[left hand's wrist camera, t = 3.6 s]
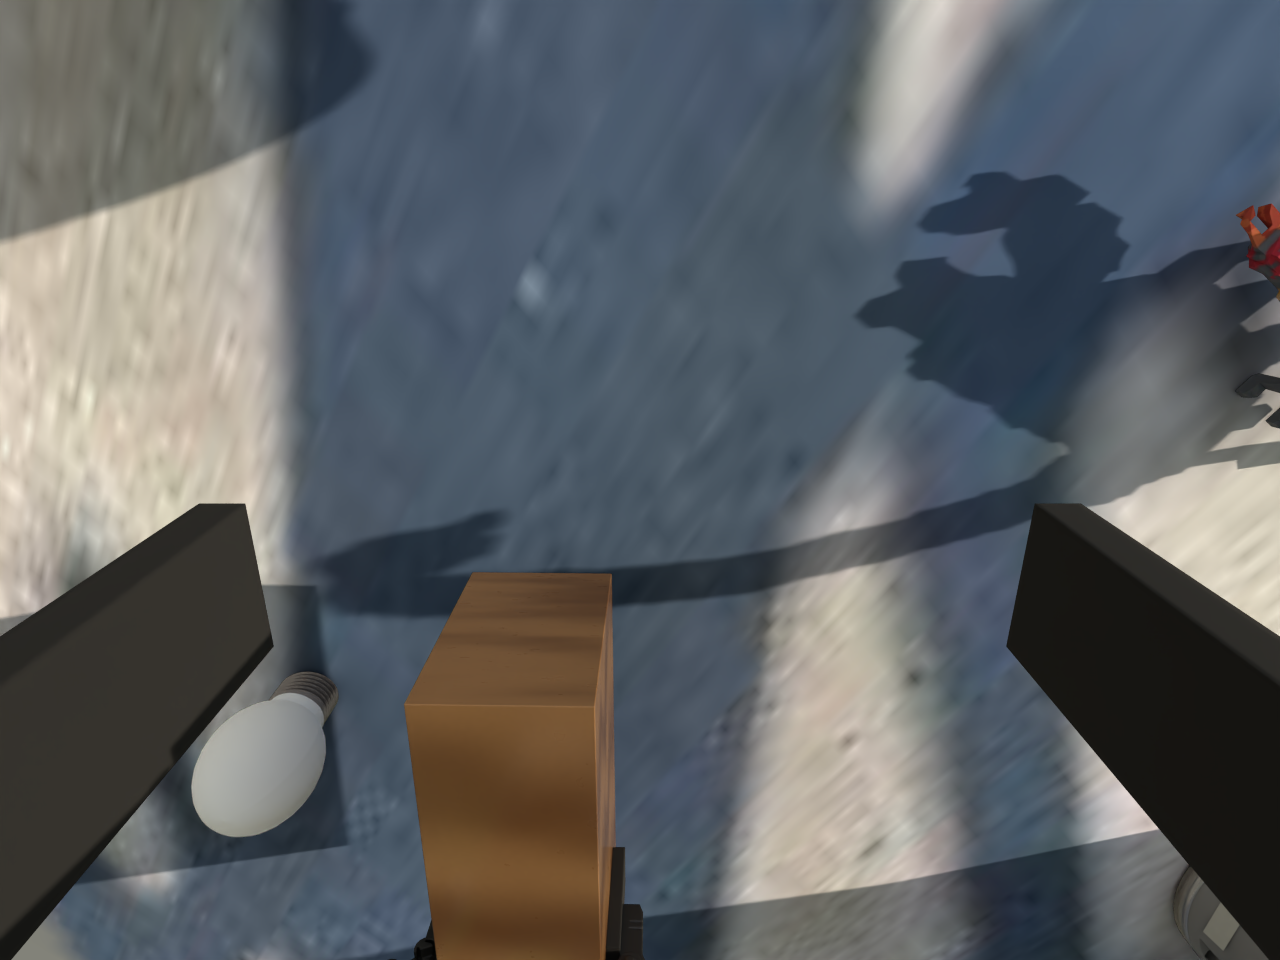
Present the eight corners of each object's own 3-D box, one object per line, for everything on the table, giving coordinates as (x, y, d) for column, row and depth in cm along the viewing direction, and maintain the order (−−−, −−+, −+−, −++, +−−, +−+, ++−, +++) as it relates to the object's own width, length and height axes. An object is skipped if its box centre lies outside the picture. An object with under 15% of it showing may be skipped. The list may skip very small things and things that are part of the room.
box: (472, 571, 42) (403, 704, 30) (611, 573, 41) (595, 706, 30) (497, 867, 49) (449, 1062, 38) (615, 869, 49) (603, 1066, 37)
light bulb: (326, 640, 49) (242, 755, 39) (377, 717, 51) (310, 846, 41) (239, 673, 50) (134, 794, 39) (293, 748, 52) (207, 882, 42)
